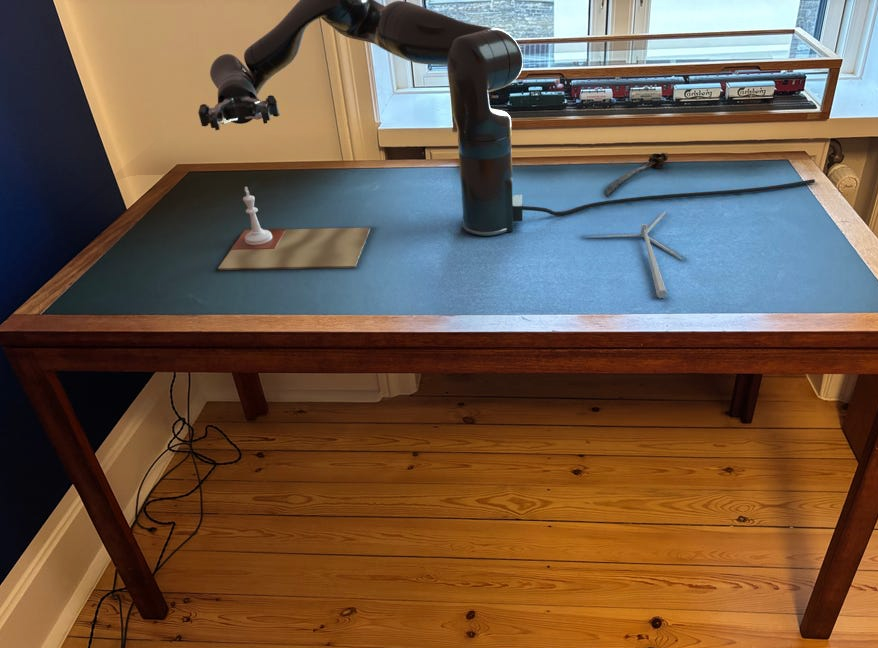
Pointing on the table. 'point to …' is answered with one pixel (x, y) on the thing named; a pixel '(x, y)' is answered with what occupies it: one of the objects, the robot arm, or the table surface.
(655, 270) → the wind turbine model
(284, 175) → the table surface
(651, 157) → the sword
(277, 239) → the corner board
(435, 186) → the table surface
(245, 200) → the chess piece
